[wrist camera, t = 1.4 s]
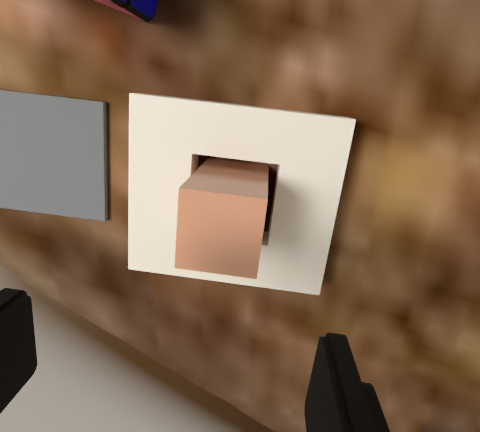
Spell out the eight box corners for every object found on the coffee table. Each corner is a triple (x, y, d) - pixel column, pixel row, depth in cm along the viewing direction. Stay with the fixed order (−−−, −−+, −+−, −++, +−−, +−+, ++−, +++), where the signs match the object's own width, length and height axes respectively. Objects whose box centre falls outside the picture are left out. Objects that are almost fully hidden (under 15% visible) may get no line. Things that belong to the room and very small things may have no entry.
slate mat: (106, 102, 28) (103, 102, 28) (108, 219, 32) (105, 221, 31) (-15, 87, 29) (-20, 87, 28) (-1, 204, 32) (-6, 206, 32)
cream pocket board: (347, 117, 27) (356, 119, 25) (315, 277, 32) (319, 295, 29) (143, 93, 28) (129, 92, 25) (140, 254, 33) (128, 269, 30)
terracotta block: (268, 165, 29) (267, 199, 20) (260, 222, 31) (256, 279, 21) (208, 158, 29) (178, 188, 20) (203, 215, 31) (174, 267, 22)
